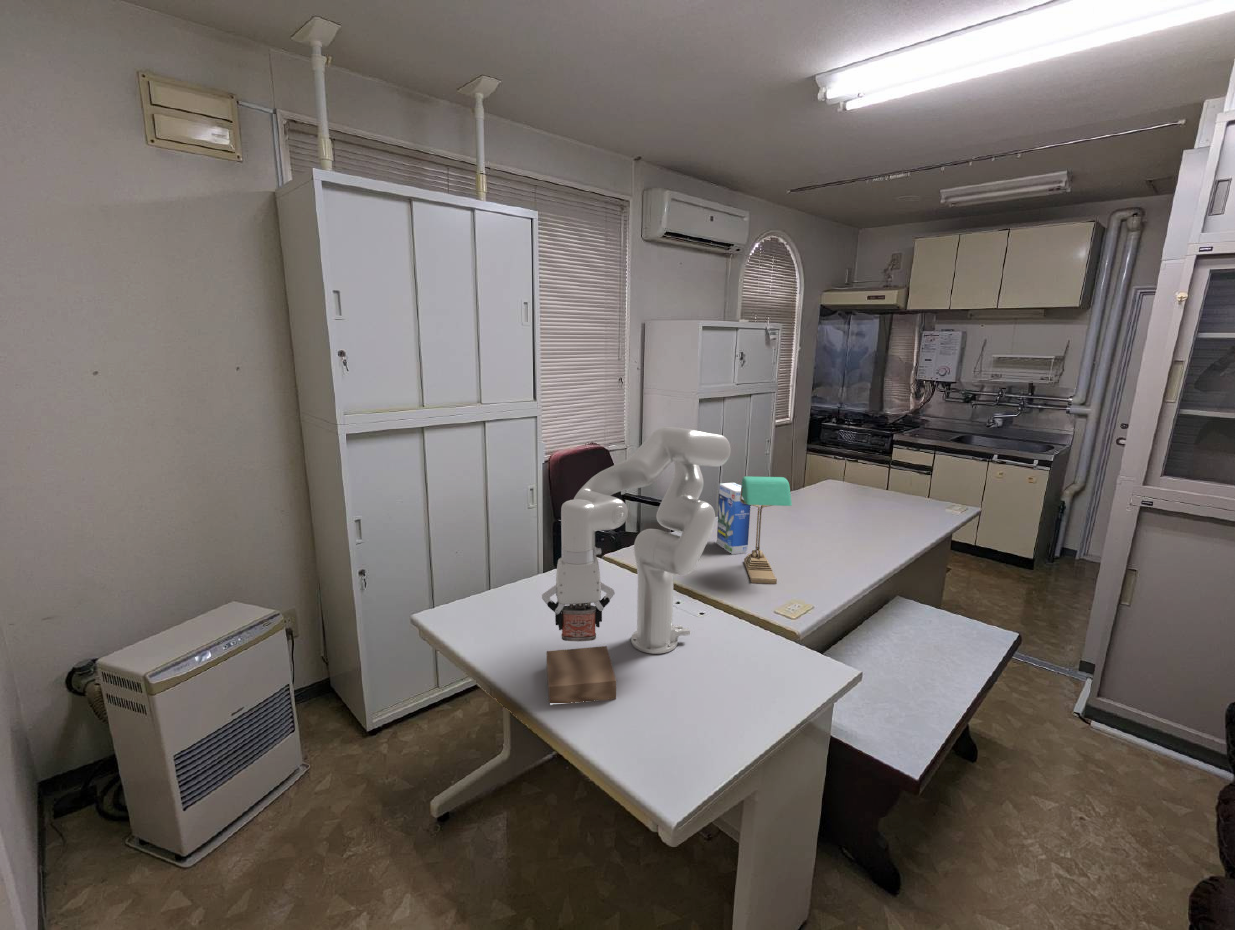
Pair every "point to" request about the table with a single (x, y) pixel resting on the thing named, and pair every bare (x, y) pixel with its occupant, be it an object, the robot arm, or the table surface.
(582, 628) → the lighter
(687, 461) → the robot arm
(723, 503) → the string lights box
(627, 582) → the table surface
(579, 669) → the walnut block
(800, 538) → the table surface
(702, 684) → the table surface
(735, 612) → the table surface
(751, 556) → the banker's lamp
